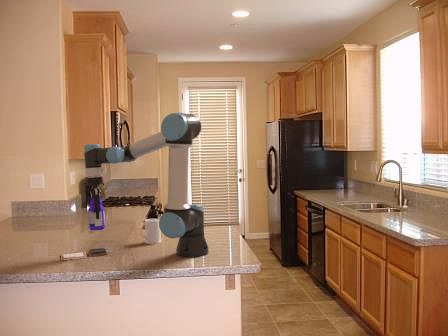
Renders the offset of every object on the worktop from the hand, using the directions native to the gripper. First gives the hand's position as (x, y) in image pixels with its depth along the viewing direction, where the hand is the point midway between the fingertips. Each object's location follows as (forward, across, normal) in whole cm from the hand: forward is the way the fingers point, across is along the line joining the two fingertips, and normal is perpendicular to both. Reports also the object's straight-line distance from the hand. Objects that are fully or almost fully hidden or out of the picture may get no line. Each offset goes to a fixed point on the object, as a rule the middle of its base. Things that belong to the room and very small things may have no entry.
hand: (97, 224), depth 217 cm
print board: (+14, +1, +12) cm, 18 cm away
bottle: (+3, 0, 0) cm, 3 cm away
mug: (+15, +13, -27) cm, 34 cm away
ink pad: (+14, +1, +1) cm, 14 cm away
